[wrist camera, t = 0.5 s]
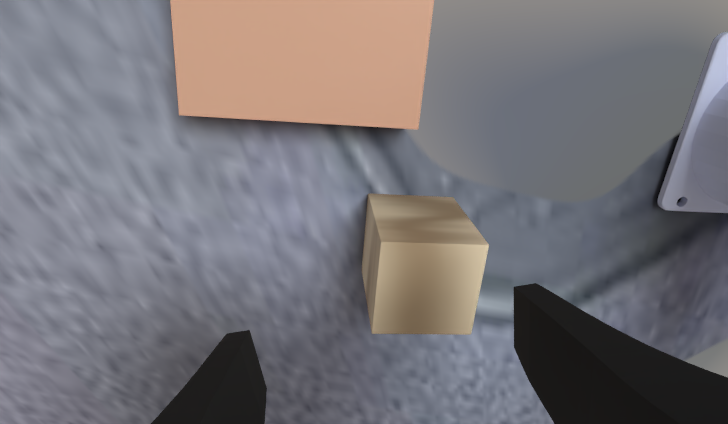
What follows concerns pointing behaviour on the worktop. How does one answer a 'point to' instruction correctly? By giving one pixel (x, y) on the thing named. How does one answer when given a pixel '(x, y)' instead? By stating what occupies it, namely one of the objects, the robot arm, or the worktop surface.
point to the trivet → (303, 60)
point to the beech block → (421, 265)
